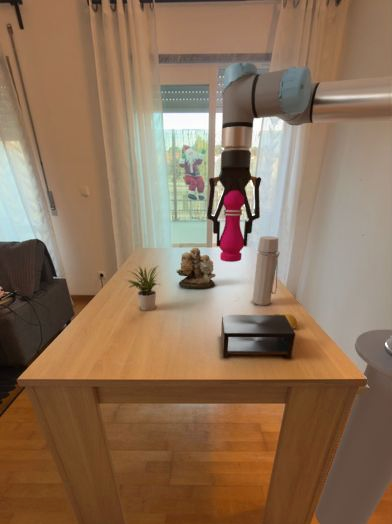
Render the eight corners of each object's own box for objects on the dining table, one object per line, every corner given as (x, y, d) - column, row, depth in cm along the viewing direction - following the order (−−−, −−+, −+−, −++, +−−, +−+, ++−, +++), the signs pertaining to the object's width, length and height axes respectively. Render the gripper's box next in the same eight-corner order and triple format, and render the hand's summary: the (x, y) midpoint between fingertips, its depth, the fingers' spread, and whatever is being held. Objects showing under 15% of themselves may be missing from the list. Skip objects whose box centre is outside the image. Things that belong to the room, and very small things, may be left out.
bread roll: (300, 329, 95) (303, 318, 93) (276, 331, 93) (277, 321, 91) (288, 318, 102) (290, 308, 100) (265, 321, 100) (266, 310, 98)
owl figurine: (177, 290, 128) (175, 251, 119) (176, 282, 138) (175, 245, 130) (216, 288, 130) (217, 250, 121) (213, 280, 140) (213, 244, 131)
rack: (280, 338, 90) (284, 314, 86) (290, 358, 79) (295, 333, 75) (221, 337, 90) (222, 314, 86) (223, 358, 80) (224, 333, 76)
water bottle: (248, 303, 114) (254, 238, 101) (258, 297, 120) (265, 235, 107) (269, 309, 109) (278, 241, 96) (278, 303, 115) (288, 237, 102)
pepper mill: (247, 259, 85) (254, 182, 74) (231, 263, 81) (235, 182, 70) (230, 255, 89) (233, 182, 79) (213, 259, 86) (215, 182, 75)
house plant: (145, 297, 120) (141, 258, 112) (173, 303, 115) (171, 262, 106) (123, 309, 110) (117, 267, 101) (152, 316, 104) (148, 272, 96)
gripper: (273, 150, 74) (263, 242, 86) (196, 152, 75) (197, 243, 87) (279, 148, 68) (268, 247, 79) (195, 149, 68) (196, 248, 80)
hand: (231, 245), depth 83 cm, fingers closed on pepper mill, 7 cm apart
